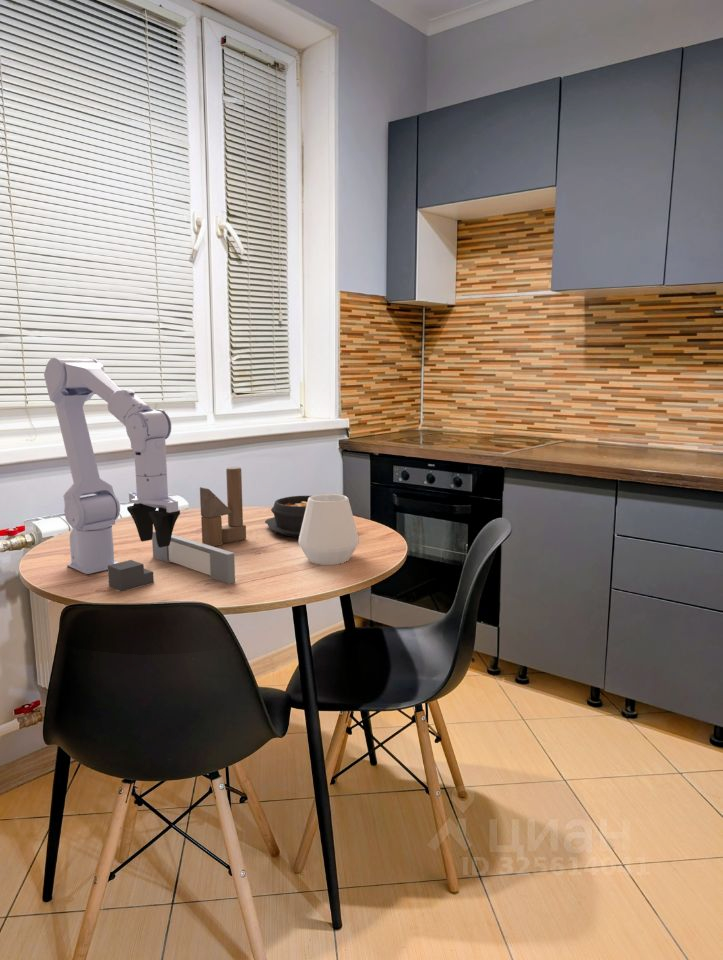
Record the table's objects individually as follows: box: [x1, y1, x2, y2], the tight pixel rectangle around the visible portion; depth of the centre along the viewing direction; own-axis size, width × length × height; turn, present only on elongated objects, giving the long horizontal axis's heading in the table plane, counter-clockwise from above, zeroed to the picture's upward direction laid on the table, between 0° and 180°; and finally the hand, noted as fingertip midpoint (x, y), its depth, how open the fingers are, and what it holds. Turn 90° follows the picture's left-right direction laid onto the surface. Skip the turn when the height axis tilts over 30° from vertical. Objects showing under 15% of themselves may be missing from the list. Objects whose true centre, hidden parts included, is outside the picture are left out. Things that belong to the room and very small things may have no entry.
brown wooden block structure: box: [199, 466, 247, 547], centre depth 162 cm, size 4×11×18 cm, turn 138°
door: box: [168, 540, 211, 576], centre depth 142 cm, size 15×1×5 cm, turn 48°
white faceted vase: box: [297, 493, 360, 566], centre depth 148 cm, size 13×13×14 cm
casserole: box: [264, 495, 312, 538], centre depth 173 cm, size 25×19×8 cm
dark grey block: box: [107, 559, 155, 592], centre depth 132 cm, size 4×7×4 cm, turn 139°
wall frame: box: [151, 530, 236, 585], centre depth 142 cm, size 28×2×6 cm, turn 48°
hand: (155, 543), depth 130 cm, fingers open, 6 cm apart
